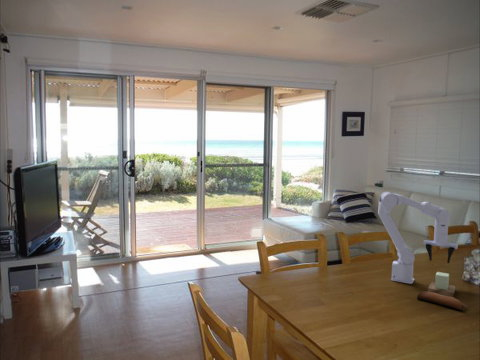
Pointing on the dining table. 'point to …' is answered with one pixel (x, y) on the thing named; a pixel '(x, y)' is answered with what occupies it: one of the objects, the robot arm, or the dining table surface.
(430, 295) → the sunglasses case
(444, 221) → the robot arm
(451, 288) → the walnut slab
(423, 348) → the dining table surface
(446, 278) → the green block
